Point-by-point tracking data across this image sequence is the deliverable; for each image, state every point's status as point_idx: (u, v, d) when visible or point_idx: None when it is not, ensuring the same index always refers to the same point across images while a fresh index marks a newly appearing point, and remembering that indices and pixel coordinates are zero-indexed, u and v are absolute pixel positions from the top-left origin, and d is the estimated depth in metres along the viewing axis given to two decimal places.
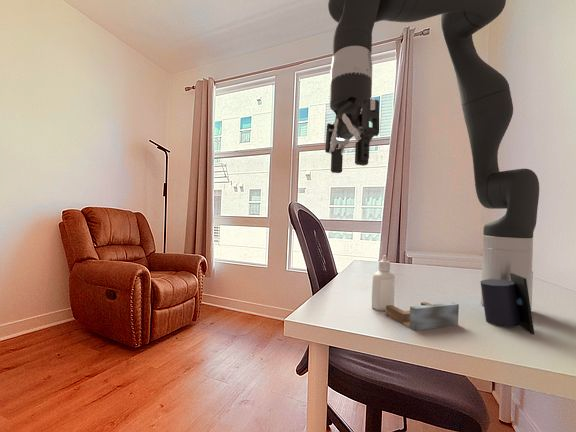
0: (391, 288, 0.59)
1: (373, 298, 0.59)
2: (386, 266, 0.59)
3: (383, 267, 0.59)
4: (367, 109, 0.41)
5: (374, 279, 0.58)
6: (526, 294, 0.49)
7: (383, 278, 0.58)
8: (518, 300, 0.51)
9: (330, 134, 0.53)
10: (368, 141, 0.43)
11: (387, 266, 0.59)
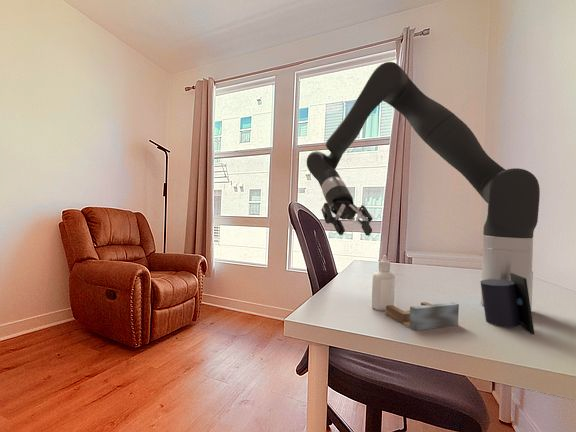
0: (391, 288, 0.59)
1: (373, 298, 0.59)
2: (386, 266, 0.59)
3: (383, 267, 0.59)
4: None
5: (374, 279, 0.58)
6: (526, 294, 0.49)
7: (383, 278, 0.58)
8: (518, 300, 0.51)
9: None
10: (334, 221, 0.71)
11: (387, 266, 0.59)
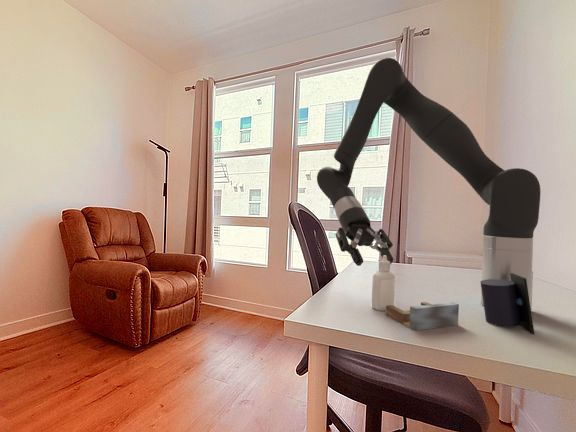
0: (391, 288, 0.59)
1: (373, 298, 0.59)
2: (386, 266, 0.59)
3: (383, 267, 0.59)
4: (337, 239, 0.67)
5: (374, 279, 0.58)
6: (526, 294, 0.49)
7: (383, 278, 0.58)
8: (518, 300, 0.51)
9: None
10: (351, 250, 0.63)
11: (387, 266, 0.59)
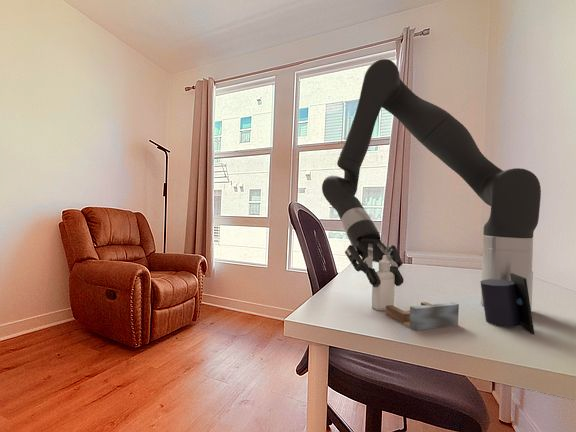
0: (391, 288, 0.59)
1: (373, 298, 0.59)
2: (386, 266, 0.59)
3: (383, 267, 0.59)
4: (348, 258, 0.62)
5: None
6: (526, 294, 0.49)
7: (383, 278, 0.58)
8: (518, 300, 0.51)
9: None
10: (367, 270, 0.59)
11: (387, 266, 0.59)
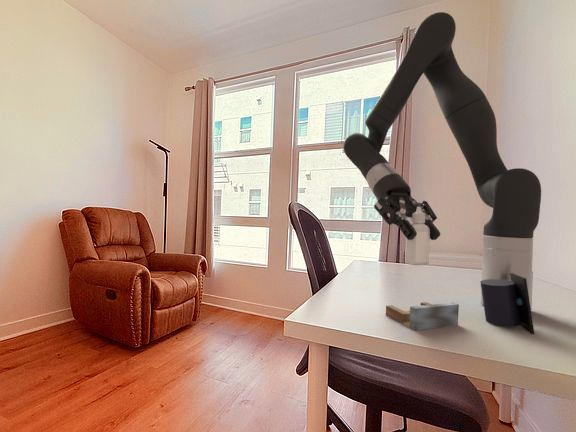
0: (427, 241, 0.54)
1: (407, 252, 0.54)
2: (421, 217, 0.54)
3: (418, 219, 0.54)
4: (378, 212, 0.57)
5: None
6: (526, 294, 0.49)
7: (419, 230, 0.53)
8: (518, 300, 0.51)
9: None
10: (400, 222, 0.54)
11: (422, 217, 0.54)
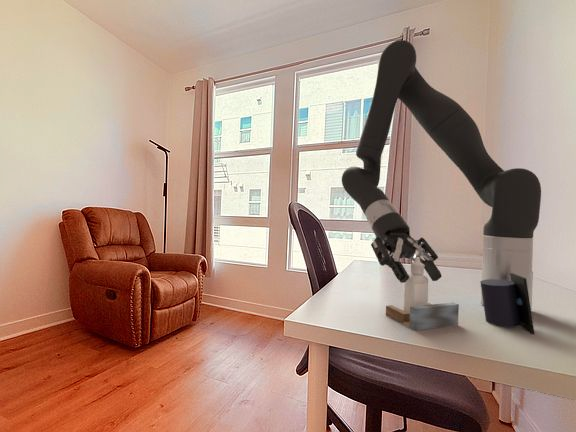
0: (425, 293, 0.54)
1: (406, 304, 0.54)
2: (420, 269, 0.54)
3: (416, 270, 0.54)
4: (374, 250, 0.57)
5: (407, 283, 0.54)
6: (526, 294, 0.49)
7: (417, 282, 0.53)
8: (518, 300, 0.51)
9: None
10: (393, 263, 0.54)
11: (421, 269, 0.54)
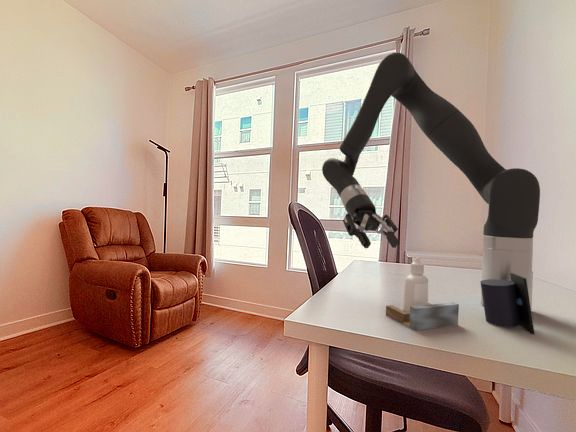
0: (425, 293, 0.54)
1: (405, 304, 0.54)
2: (420, 269, 0.54)
3: (416, 270, 0.54)
4: (345, 224, 0.70)
5: (407, 283, 0.54)
6: (526, 294, 0.49)
7: (417, 282, 0.53)
8: (518, 300, 0.51)
9: None
10: (358, 233, 0.66)
11: (421, 269, 0.54)
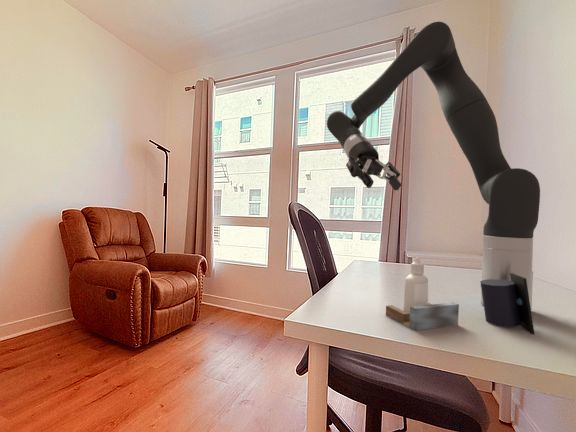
0: (425, 293, 0.54)
1: (405, 304, 0.54)
2: (420, 269, 0.54)
3: (416, 270, 0.54)
4: (348, 168, 0.70)
5: (407, 283, 0.54)
6: (526, 294, 0.49)
7: (417, 282, 0.53)
8: (518, 300, 0.51)
9: (387, 172, 0.74)
10: (361, 174, 0.67)
11: (421, 269, 0.54)
